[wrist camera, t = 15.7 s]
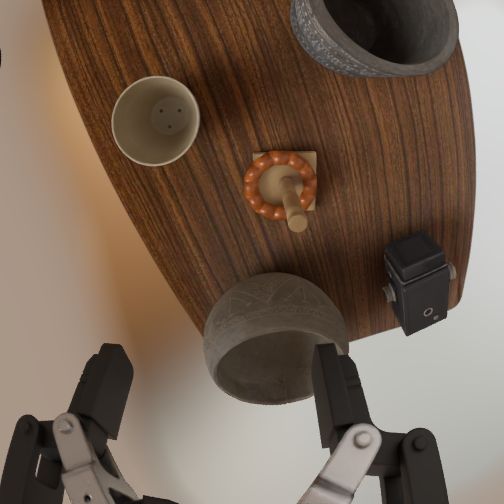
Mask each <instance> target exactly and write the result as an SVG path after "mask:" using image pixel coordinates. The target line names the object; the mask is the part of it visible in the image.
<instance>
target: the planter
mask: <svg viewBox="0 0 504 504" xmlns="http://www.w3.org/2000/svg"><path fill="white" fill-rule="evenodd" d="M290 21H291V26H292V29H293V32H294V34H295V36H296V38H297V40H298V42H299V43H300V45H301V46H302V47H303V49H304V50H305V51H306V52H307V53H308V54H309V55H310V56H311V57H312V58H313V59H314V60H315V61H317V62H318V63H319V64H321V65H322V66H324V67H326V68H327V69H329V70H331V71H334V72H336V73H339V74H342V75H345V76H349V77H357V78H376V77H414V76H423V75H427V74H430V73H433V72H435V71H437V70H438V69H440V68H441V67H443V66H444V65H445V64H446V63H447V62H448V61H449V59H450V58H451V57H452V55H453V53H454V51H455V49H456V46H457V42H458V36H459V23H458V16H457V12H456V9H455V6H454V3H453V0H292V2H291V7H290Z"/></svg>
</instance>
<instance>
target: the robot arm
mask: <svg viewBox="0 0 504 504" xmlns="http://www.w3.org/2000/svg"><path fill="white" fill-rule="evenodd" d="M311 378H312V385H313V391H314V397H315V403H316V410H317V416H318V423H319V429H320V436H321V443H322V448H330V455H331V457H330V458H329V460H328V461H327V463H326V464H325V466H324V467H323V469H322V470H321V471H320V473H319V474H318V476H317V477H316V479H315V480H314V481H313V483H312V484H311V486H310V487H309V488H308V490H307V491H306V492H305V494H304V495H303V496H302V498H301V499H300V500H299V502H298V503H297V504H351V502H352V500H353V498H354V493H355V491H356V489H357V488H358V486H359V484H360V483H361V481H362V479H363V478H364V476H365V475H370V476H379V479H380V487H381V496H382V504H449V502H448V495H447V489H446V484H445V479H444V474H443V470H442V464H441V460H440V456H439V451H438V447H437V443H436V439H435V437H434V435H433V434H432V433H431V432H430V431H429V430H427V429H425V428H416V429H413V430H411V431H409V432H408V433H407V434H405V433H390V432H385V431H382V430H380V429H378V428H377V427H376V426H375V425H374V424H373V422H372V421H371V418H370V415H369V411H368V407H367V404H366V400H365V396H364V393H363V389H362V387H361V382H360V378H359V375H358V371H357V368H356V365H355V363H354V362H353V360H352V359H351V358H350V357H349V356H348V354H346V355H338V352H337V349H336V345H335V343H324V344H316V345H315V348H314V354H313V360H312V365H311ZM132 380H133V366H132V364H131V362H130V360H129V359H128V357H127V355H126V353H125V351H124V349H123V347H122V346H121V345H120V344H109V343H104V344H103V345H102V346H101V349H100V351H99V354H94V355H93V356H92V357H91V358H90V359H89V361H88V362H87V363H86V366H85V368H84V370H83V374H82V375H81V378H80V382H79V383H78V385H77V388H76V390H75V393H74V396H73V398H72V401H71V404H70V406H69V409H68V411H67V412H66V413H63V414H60V415H59V416H58V417H57V418H56V419H55V420H53V421H52V420H51V421H38V420H37V419H36V418H35V417H34V416H32V415H24V416H22V417H21V418H20V419H19V420H18V422H17V424H16V427H15V430H14V433H13V436H12V440H11V444H10V447H9V450H8V454H7V458H6V462H5V466H4V470H3V474H2V479H1V484H0V504H62V502H63V495H64V488H65V489H66V491H67V494H68V496H69V499H70V501H71V503H72V504H178V503H176V502H173V501H170V500H167V499H161V498H155V497H150V496H145V495H143V499H139V498H138V497H137V495H136V493H135V492H134V491H133V489H132V488H131V487H130V485H129V484H128V483H127V482H126V481H125V480H124V478H123V476H122V474H121V472H120V471H119V469H118V467H117V465H116V463H115V461H114V459H113V456H112V455H111V452H110V450H109V448H108V446H107V445H106V443H107V439H113V440H117V436H118V432H119V427H120V423H121V420H122V415H123V412H124V408H125V405H126V401H127V397H128V393H129V390H130V387H131V383H132ZM40 454H41V460H40V464H39V468H38V473H37V477H36V475H35V473H36V468H37V464H38V459H39V455H40Z"/></svg>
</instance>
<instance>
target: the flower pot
mask: <svg viewBox="0 0 504 504" xmlns="http://www.w3.org/2000/svg"><path fill="white" fill-rule="evenodd" d="M179 109H180V110H179ZM178 110H179V111H178ZM160 111H162V112H160ZM170 125H171V127H170ZM199 126H200V110H199V106H198V103H197V100H196V98H195V97H194V95H193V94H192V92H191V91H190V90H189V89H188V88H187V87H186V86H185V85H184V84H182V83H181V82H179V81H177V80H175V79H173V78H170V77H165V76H151V77H146V78H143V79H140V80H138V81H136V82H134V83H133V84H131V85H130V86H129V87H128V88H127V89H126V90H125V91H124V92H123V93H122V94H121V96H120V97H119V99H118V100H117V102H116V104H115V107H114V110H113V115H112V131H113V135H114V139H115V141H116V143H117V145H118V147H119V148H120V149H121V151H122V152H123V153H124V154H125V155H126V156H127V157H128V158H130V159H131V160H133V161H135V162H137V163H139V164H142V165H147V166H161V165H165V164H168V163H171V162H173V161H175V160H177V159H178V158H180V157H181V156H182V155H183V154H184V153H185V152H186V151H187V150H188V149H189V148H190V147H191V145H192V144H193V142H194V140H195V138H196V136H197V133H198V130H199Z"/></svg>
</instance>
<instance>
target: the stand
mask: <svg viewBox="0 0 504 504" xmlns="http://www.w3.org/2000/svg"><path fill="white" fill-rule="evenodd" d="M292 152H294V153H296V154H298V155H299V156H301V157H303V158H305V159H306V160H308V161H309V163H310V165H311V167H312V168H313V170H314V172H315V174H316V152H315V151H292ZM266 153H268V152H256V153H253V161H254V160H256V159H257V158H259V157H261V156H262V155H264V154H266ZM258 182H259V193H260V195H261V196H262V198H263V199H264V201H266V202H268V203H270V204H272V205H274V206H284V208H285V213H286V217H287V221H288V225H289V228H290V229H291V230H292V231H294V232H301V231H303V230H305V228H306V227H307V224H308V221H307V218H306V216H305V213H304V210H303V208H302V205H301V202H300V200H299V196H300V194H301V193H302V191H303V179H302V178H301V176H300V174H299V173H298V171H297V170H295V169H293V168H292V167H290V166H288V165H274V166H273V167H271V168H269V169H267V170H266V171H264V173H263V174H262V176H261V178H260V180H259V181H258ZM307 210H315V198H314V200H313V201H312V203H311V205H310V206H309V208H308V209H307Z"/></svg>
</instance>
